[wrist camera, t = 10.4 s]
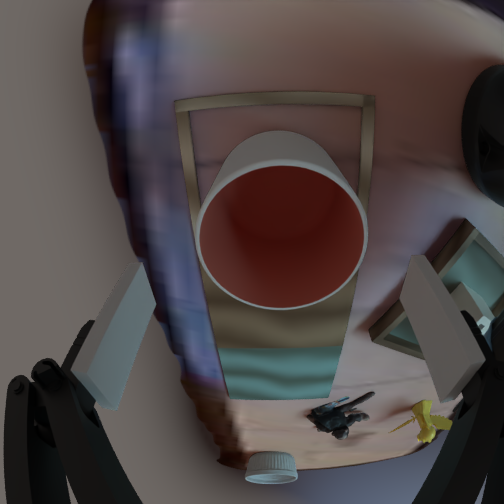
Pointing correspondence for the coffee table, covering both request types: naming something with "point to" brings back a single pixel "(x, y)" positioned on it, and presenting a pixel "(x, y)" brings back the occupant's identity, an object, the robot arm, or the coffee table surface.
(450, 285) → the dice tray
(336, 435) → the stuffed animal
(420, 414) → the figurine
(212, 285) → the track
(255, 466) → the ramekin
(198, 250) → the cup
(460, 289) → the die
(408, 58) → the coffee table surface
